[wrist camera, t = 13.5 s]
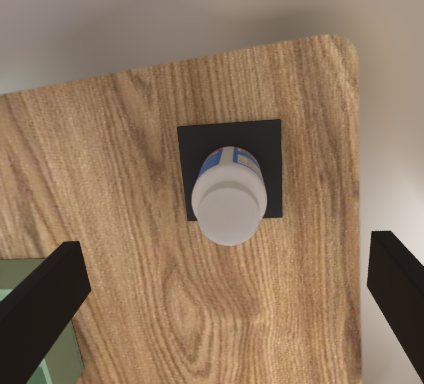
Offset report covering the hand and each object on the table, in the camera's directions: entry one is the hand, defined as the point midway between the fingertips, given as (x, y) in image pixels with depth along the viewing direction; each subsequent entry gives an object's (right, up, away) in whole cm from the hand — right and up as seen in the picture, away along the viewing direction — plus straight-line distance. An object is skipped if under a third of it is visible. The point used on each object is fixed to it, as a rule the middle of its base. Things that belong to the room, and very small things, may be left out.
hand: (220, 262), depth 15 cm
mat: (+1, +5, +15) cm, 16 cm away
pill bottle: (+1, +5, +15) cm, 16 cm away
